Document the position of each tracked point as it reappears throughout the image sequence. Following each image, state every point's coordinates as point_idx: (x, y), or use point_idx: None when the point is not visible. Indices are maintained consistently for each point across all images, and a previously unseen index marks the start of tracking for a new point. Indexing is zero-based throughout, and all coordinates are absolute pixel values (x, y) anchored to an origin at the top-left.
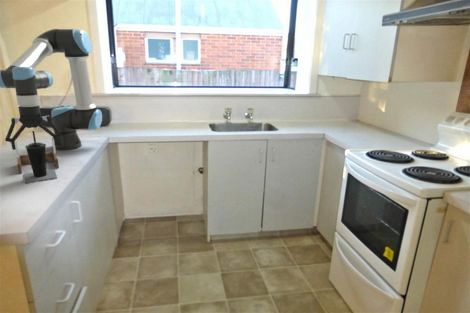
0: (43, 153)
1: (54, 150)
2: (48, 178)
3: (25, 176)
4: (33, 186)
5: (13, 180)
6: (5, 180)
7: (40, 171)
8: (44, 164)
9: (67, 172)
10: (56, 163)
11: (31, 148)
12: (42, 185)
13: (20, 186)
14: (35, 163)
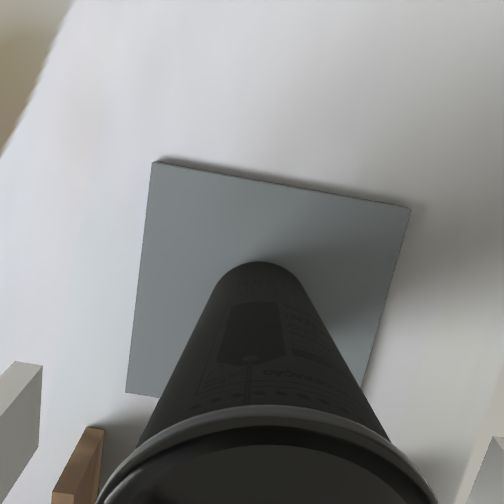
0: (188, 375)
1: (7, 388)
2: (223, 178)
3: (361, 355)
4: (374, 80)
5: (447, 344)
6: (490, 380)
7: (265, 275)
8: (213, 309)
9: (44, 275)
10: (84, 461)
11: (384, 443)
12: (306, 53)
13: (455, 157)
14: (308, 317)
